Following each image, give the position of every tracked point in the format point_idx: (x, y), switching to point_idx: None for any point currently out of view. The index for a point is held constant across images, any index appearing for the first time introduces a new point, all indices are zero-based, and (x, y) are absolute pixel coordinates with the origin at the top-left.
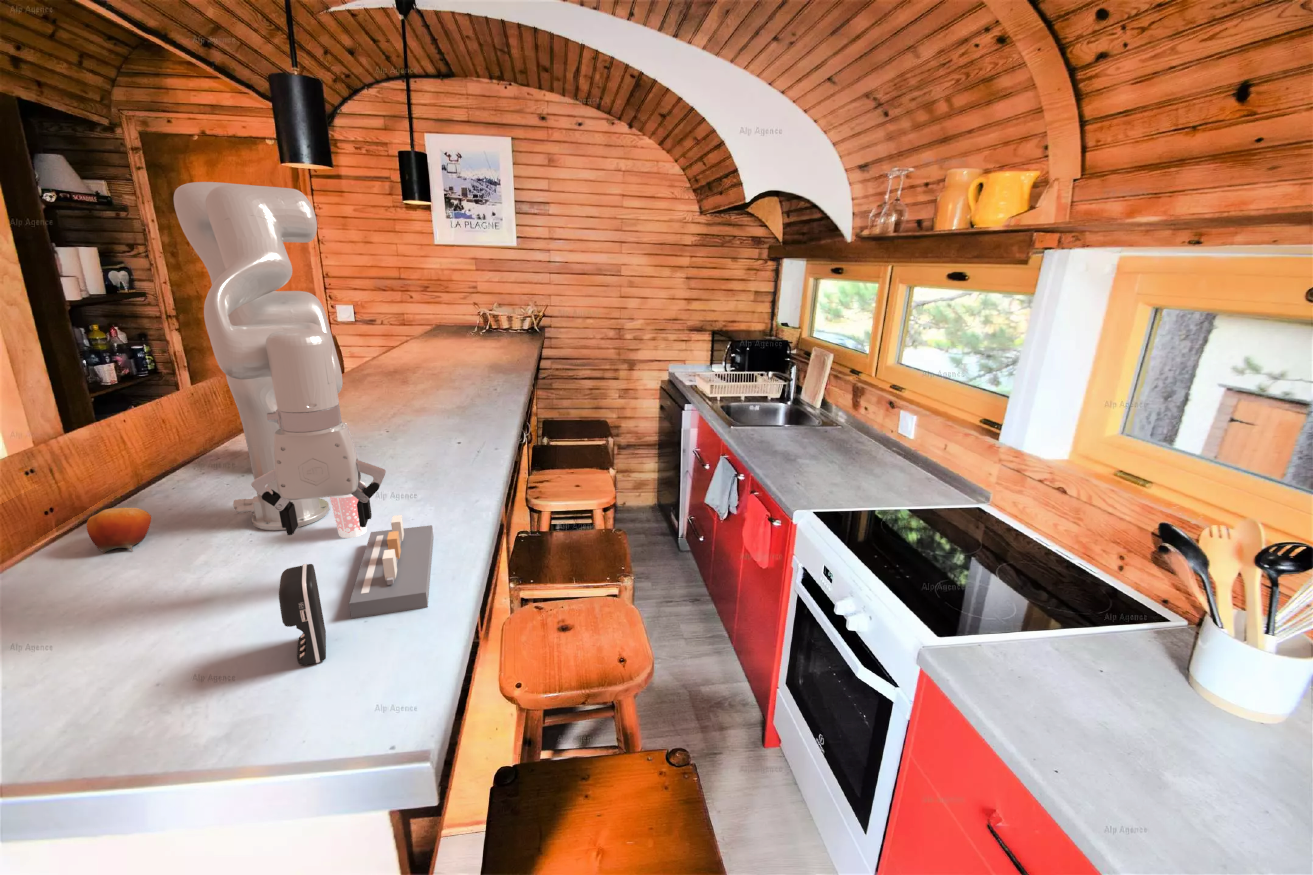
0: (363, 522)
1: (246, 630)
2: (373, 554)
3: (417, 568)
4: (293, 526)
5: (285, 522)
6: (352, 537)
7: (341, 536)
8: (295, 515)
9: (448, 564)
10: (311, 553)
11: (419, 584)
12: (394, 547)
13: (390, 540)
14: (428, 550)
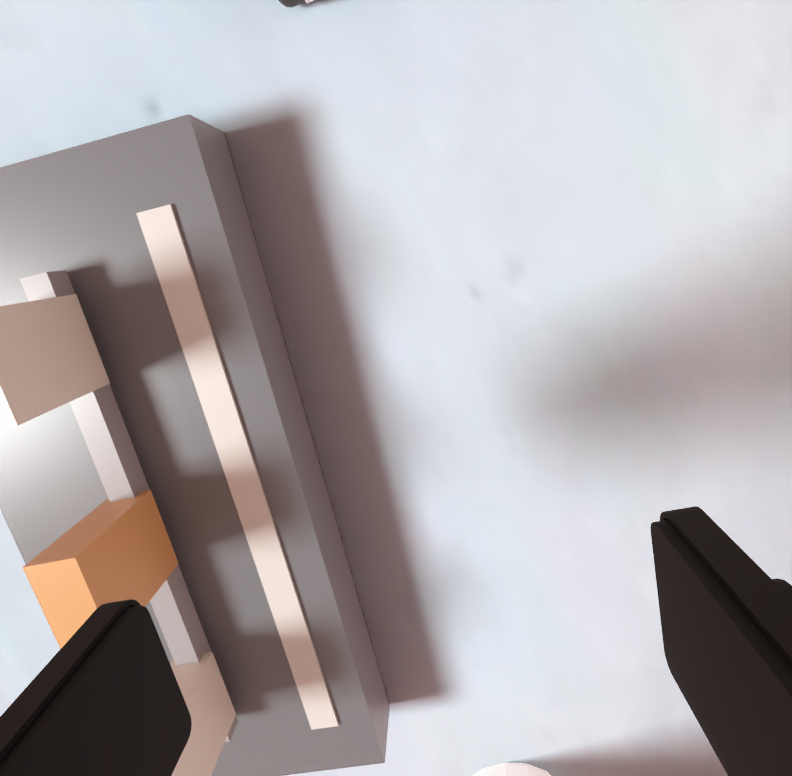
0: (85, 629)
1: (666, 51)
2: (279, 567)
3: (14, 432)
4: (678, 593)
5: (766, 583)
6: (497, 764)
7: (545, 774)
8: (720, 743)
9: (10, 536)
10: (623, 661)
11: None
12: (78, 529)
13: (62, 555)
14: None
